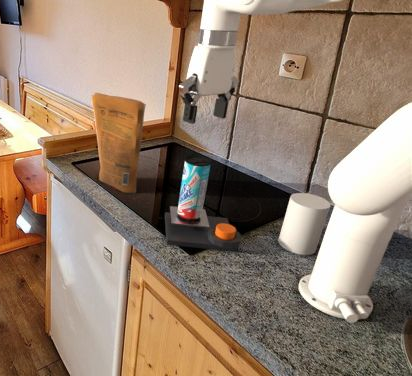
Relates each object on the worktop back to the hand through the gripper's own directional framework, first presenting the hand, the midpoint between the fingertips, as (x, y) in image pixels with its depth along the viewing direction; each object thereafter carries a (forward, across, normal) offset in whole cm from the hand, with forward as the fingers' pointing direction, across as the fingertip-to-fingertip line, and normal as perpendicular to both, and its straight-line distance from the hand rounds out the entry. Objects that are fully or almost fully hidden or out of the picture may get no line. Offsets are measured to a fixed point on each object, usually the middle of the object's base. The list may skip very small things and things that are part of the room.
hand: (204, 119), depth 91 cm
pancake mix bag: (+28, +1, -30) cm, 41 cm away
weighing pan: (+25, 0, 0) cm, 25 cm away
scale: (+28, 0, +3) cm, 29 cm away
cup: (+28, -17, +19) cm, 38 cm away
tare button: (+26, -2, +10) cm, 28 cm away
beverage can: (+25, 0, 0) cm, 25 cm away
